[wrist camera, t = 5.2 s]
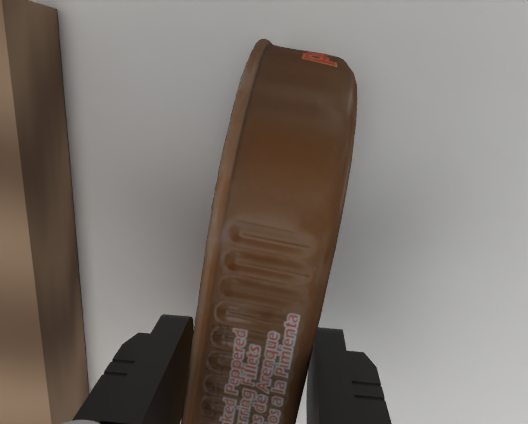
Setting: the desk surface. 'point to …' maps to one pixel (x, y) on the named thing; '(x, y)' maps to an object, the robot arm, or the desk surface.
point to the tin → (271, 237)
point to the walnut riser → (37, 228)
